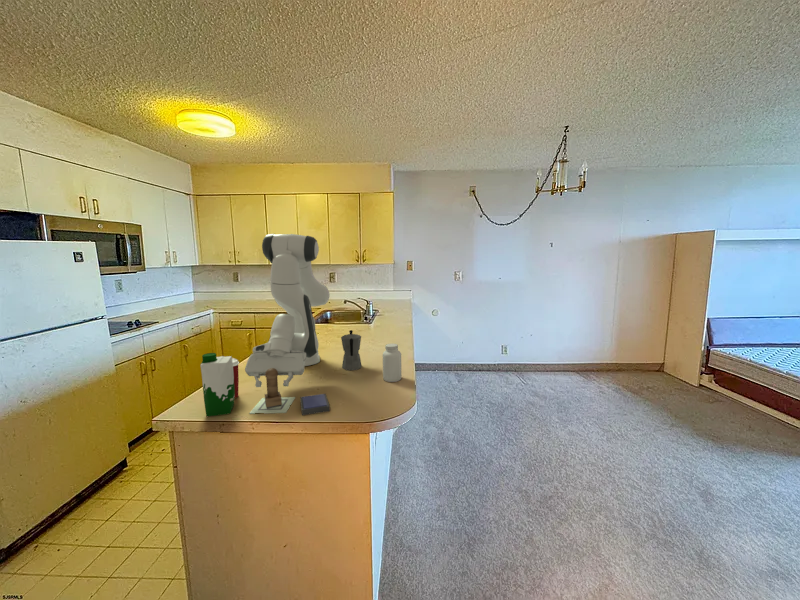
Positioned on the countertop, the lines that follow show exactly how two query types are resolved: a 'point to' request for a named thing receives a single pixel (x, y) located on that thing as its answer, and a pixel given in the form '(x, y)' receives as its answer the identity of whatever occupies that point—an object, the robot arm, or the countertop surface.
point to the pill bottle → (391, 363)
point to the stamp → (272, 389)
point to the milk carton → (217, 384)
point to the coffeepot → (351, 351)
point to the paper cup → (235, 375)
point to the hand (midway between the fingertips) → (271, 386)
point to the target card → (281, 409)
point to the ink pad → (314, 404)
